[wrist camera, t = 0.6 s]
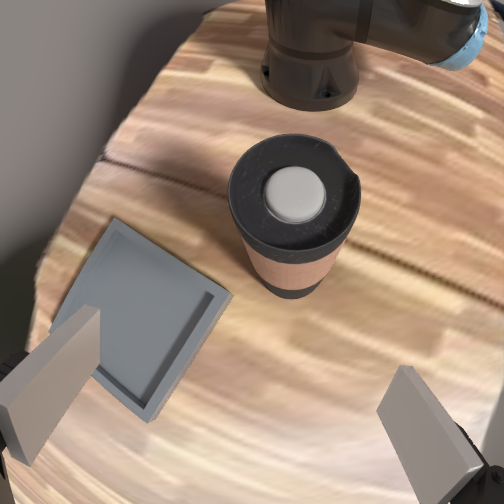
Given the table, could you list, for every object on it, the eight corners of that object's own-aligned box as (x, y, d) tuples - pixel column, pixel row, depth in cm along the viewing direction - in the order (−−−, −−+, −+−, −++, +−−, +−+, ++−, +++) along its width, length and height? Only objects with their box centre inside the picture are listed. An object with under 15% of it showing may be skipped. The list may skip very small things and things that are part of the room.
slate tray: (123, 224, 40) (114, 217, 38) (233, 295, 36) (230, 292, 33) (59, 332, 37) (48, 331, 35) (155, 419, 33) (147, 423, 30)
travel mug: (250, 292, 36) (207, 236, 17) (267, 230, 38) (246, 122, 18) (316, 309, 34) (351, 270, 15) (330, 244, 36) (369, 146, 17)
